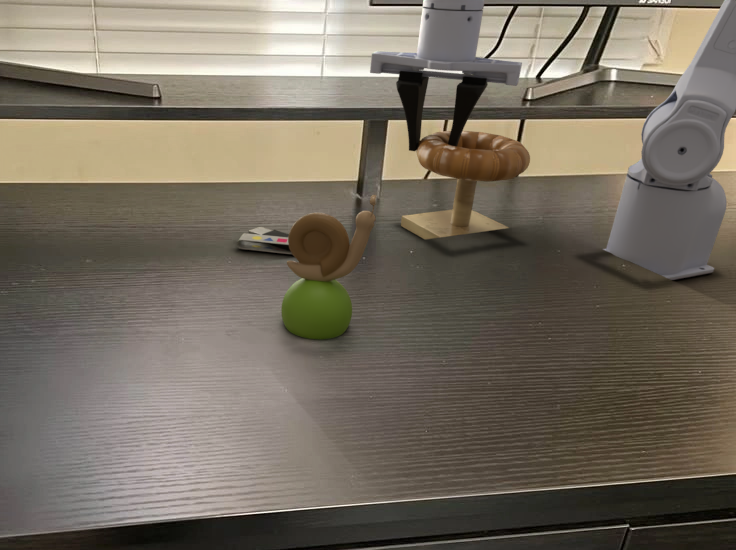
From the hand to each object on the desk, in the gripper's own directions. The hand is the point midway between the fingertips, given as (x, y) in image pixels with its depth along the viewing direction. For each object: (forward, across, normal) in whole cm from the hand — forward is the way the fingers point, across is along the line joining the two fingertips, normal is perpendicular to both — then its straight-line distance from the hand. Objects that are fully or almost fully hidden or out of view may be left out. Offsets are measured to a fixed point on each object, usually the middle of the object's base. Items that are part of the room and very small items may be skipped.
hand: (431, 151), depth 78 cm
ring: (0, +4, 0) cm, 4 cm away
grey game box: (+9, -12, -13) cm, 20 cm away
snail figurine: (+9, -2, -30) cm, 32 cm away
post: (+9, +4, 0) cm, 10 cm away
